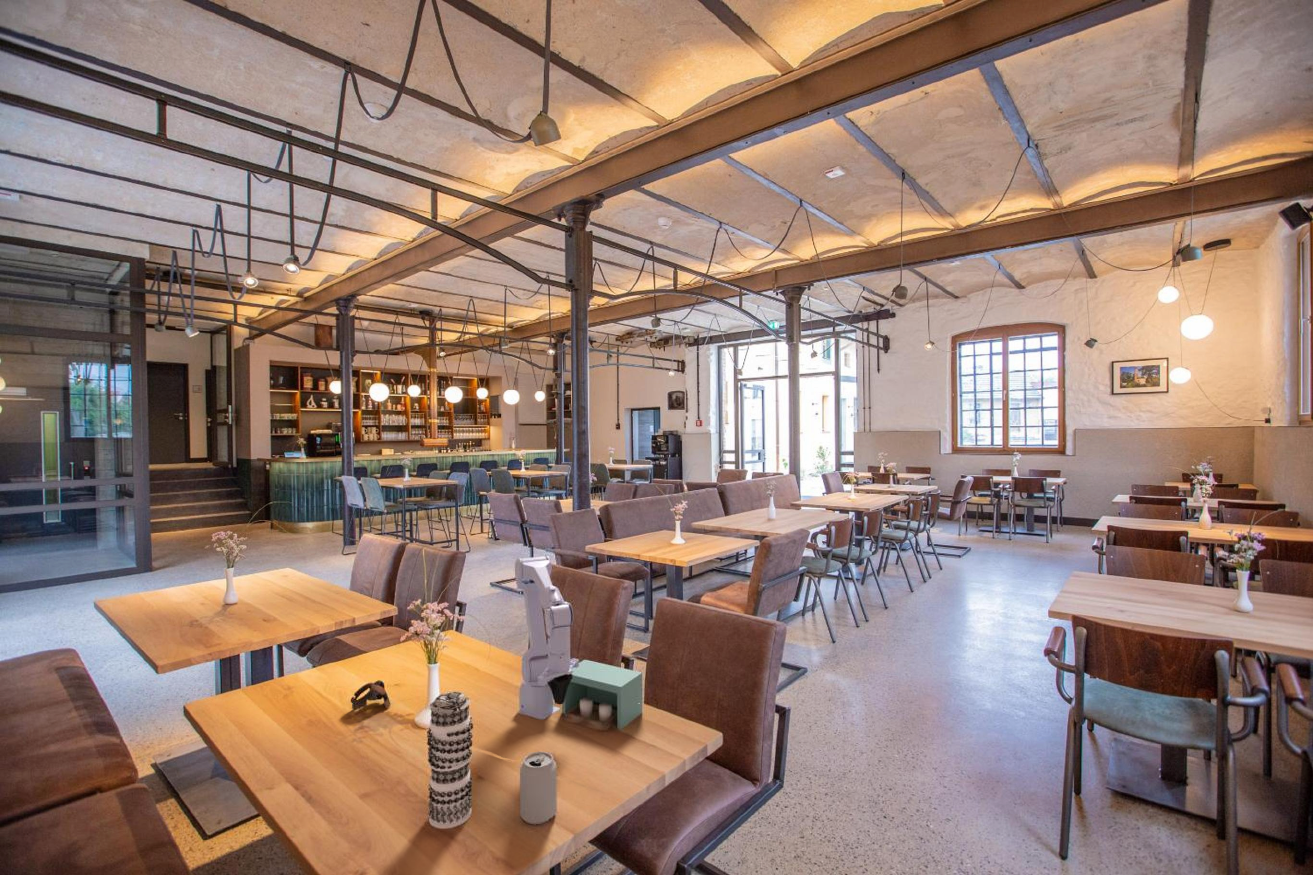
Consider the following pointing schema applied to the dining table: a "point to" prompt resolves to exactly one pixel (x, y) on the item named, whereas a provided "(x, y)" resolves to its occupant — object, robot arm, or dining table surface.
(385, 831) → the dining table surface
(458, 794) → the decorative candle
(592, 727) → the tray
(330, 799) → the dining table surface
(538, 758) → the can
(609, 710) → the pale pink cylinder
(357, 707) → the dark brown looped arch
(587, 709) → the cup
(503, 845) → the dining table surface
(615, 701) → the box
